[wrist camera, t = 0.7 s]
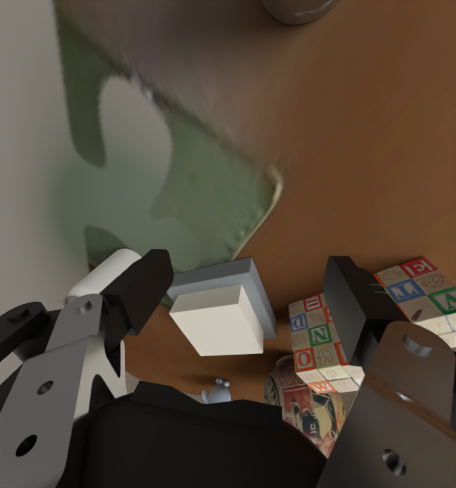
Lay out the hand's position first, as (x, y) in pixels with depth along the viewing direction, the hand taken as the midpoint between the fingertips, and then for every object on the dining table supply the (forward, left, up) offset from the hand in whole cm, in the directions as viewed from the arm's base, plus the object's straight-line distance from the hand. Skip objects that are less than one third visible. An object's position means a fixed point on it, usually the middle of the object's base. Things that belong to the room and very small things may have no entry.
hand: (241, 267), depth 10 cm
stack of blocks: (+24, +9, -19) cm, 32 cm away
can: (+7, -28, -19) cm, 34 cm away
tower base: (+20, -13, -19) cm, 30 cm away
